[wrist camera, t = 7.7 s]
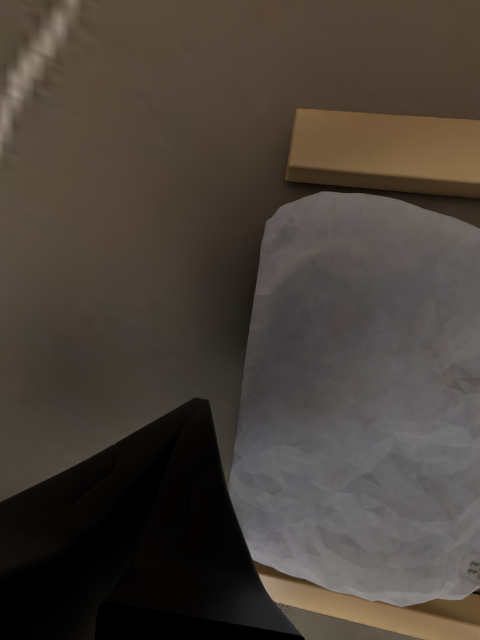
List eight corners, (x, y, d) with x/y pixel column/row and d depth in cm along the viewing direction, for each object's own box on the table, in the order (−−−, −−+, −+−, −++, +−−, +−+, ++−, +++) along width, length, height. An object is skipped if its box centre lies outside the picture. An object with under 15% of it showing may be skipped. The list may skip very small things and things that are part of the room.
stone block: (499, 240, 9) (244, 206, 8) (792, 224, 4) (278, 140, 3) (410, 480, 12) (217, 479, 11) (527, 619, 7) (215, 640, 6)
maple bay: (581, 655, 11) (619, 703, 9) (226, 569, 12) (221, 601, 11) (936, 145, 6) (1096, 115, 5) (295, 104, 7) (301, 74, 6)
